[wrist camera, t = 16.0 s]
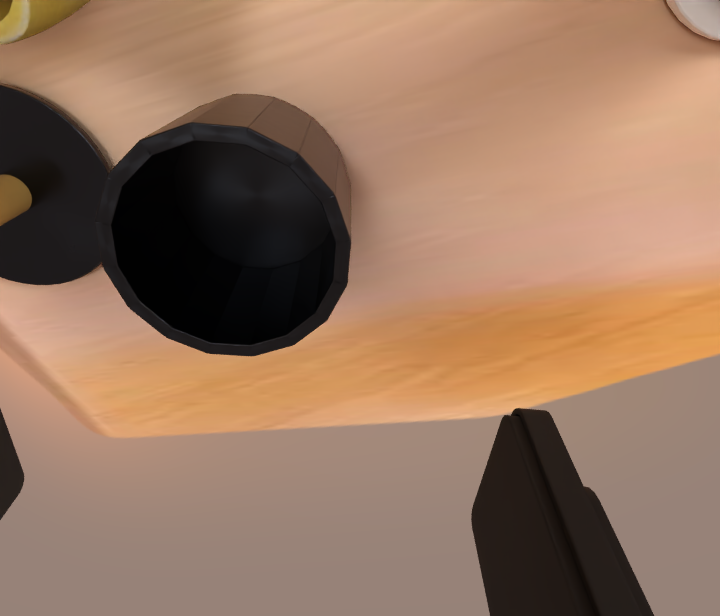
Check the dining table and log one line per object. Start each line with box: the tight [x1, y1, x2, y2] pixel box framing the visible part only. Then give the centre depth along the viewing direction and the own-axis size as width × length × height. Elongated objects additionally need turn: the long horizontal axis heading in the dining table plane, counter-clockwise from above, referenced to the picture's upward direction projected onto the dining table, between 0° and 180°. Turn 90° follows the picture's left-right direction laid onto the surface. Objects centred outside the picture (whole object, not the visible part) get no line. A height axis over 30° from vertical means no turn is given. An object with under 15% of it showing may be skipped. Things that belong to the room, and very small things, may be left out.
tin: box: [94, 94, 351, 356], centre depth 30 cm, size 13×13×10 cm
